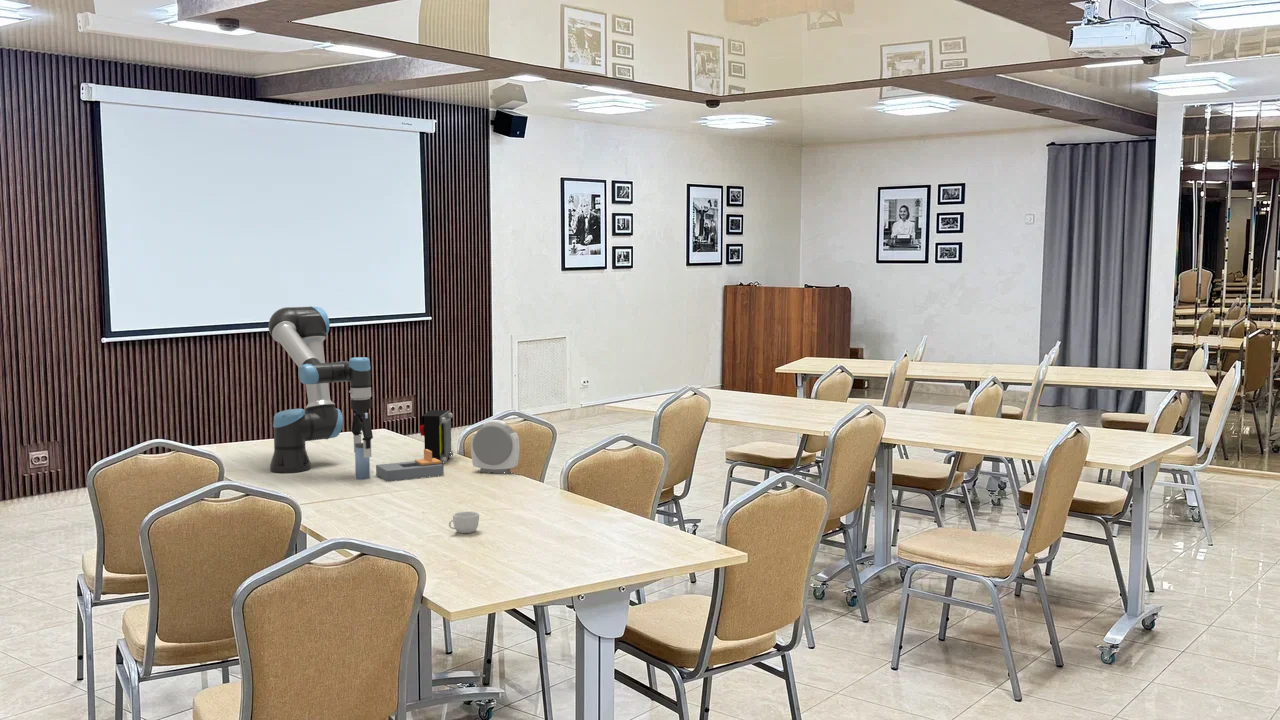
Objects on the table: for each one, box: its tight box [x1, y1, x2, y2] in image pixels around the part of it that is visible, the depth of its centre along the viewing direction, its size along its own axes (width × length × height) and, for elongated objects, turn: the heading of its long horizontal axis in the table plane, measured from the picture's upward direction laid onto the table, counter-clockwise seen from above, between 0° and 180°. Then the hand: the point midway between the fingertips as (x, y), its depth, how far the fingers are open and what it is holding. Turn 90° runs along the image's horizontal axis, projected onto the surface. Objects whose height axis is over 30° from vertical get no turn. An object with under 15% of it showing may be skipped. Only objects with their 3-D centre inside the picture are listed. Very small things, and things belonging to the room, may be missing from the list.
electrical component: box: [419, 409, 454, 465], centre depth 429 cm, size 18×10×20 cm, turn 179°
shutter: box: [414, 448, 442, 465], centre depth 403 cm, size 8×8×5 cm
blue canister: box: [354, 442, 371, 480], centre depth 395 cm, size 5×5×13 cm
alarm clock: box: [470, 419, 521, 475], centre depth 406 cm, size 18×8×20 cm, turn 80°
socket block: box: [375, 460, 445, 482], centre depth 400 cm, size 14×22×4 cm, turn 120°
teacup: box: [448, 510, 480, 534], centre depth 314 cm, size 10×8×5 cm
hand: (362, 454), depth 394 cm, fingers open, 13 cm apart
